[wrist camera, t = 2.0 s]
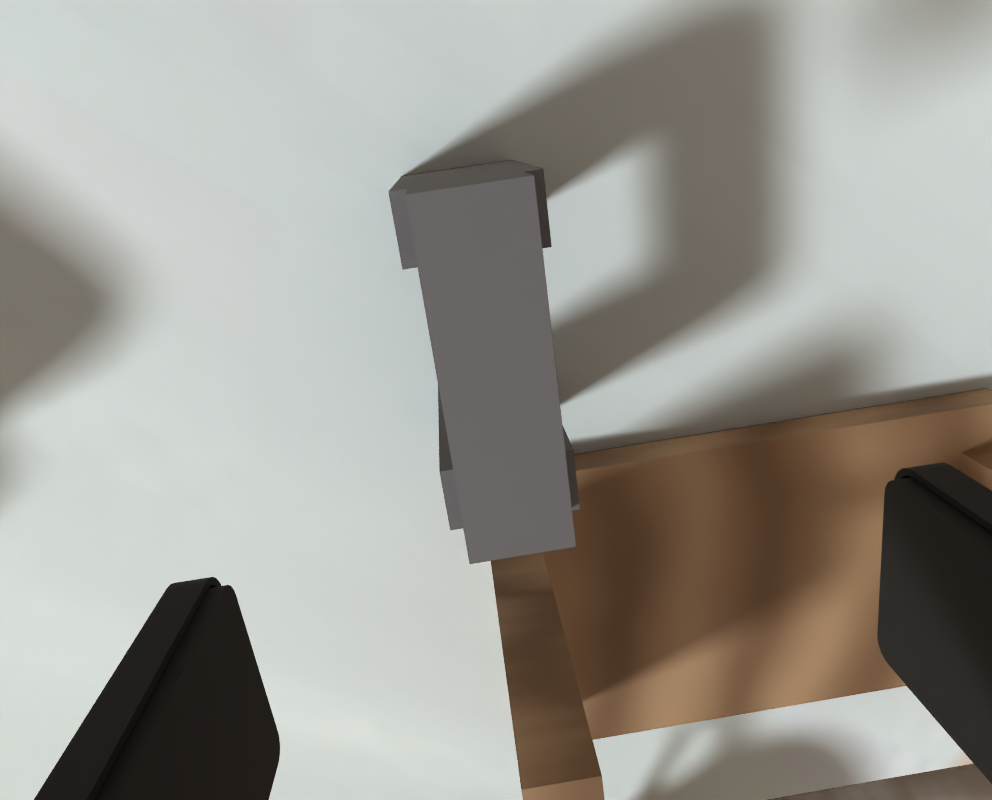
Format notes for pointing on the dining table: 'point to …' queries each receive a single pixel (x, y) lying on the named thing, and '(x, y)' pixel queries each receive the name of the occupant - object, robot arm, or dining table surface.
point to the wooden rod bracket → (721, 587)
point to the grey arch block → (491, 354)
